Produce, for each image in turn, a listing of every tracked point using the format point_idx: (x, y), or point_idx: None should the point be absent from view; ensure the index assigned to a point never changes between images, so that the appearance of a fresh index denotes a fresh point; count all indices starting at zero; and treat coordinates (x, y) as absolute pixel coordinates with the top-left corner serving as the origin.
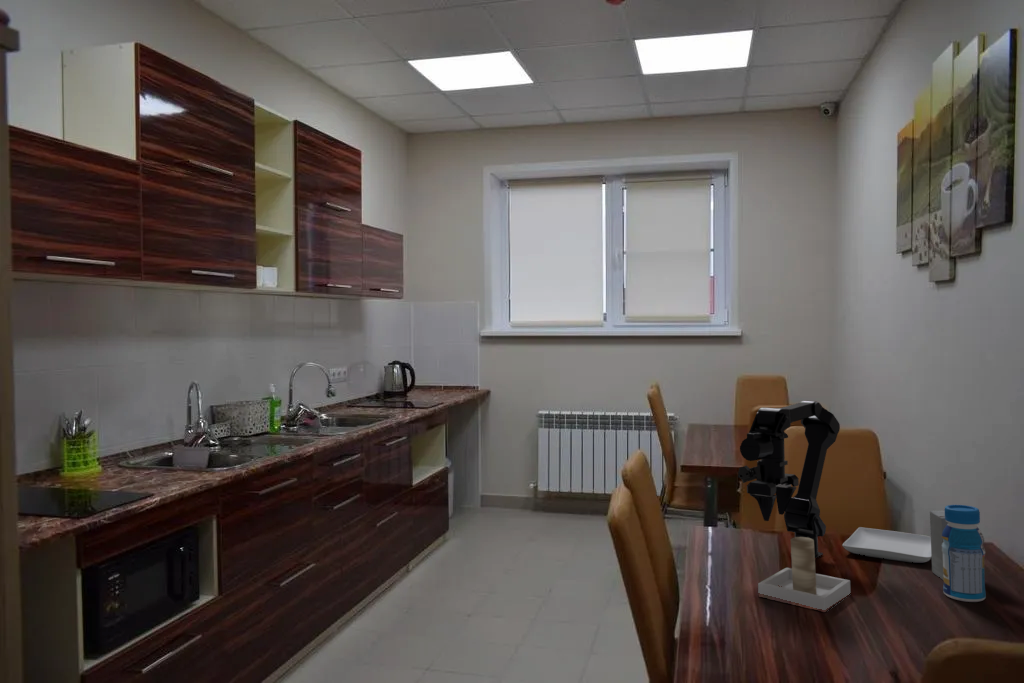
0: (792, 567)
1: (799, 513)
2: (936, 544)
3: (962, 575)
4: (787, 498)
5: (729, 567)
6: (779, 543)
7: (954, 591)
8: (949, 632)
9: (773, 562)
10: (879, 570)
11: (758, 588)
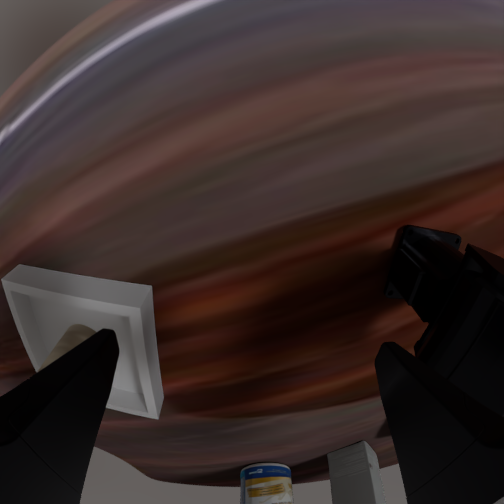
0: (42, 364)
1: (451, 376)
2: (350, 491)
3: (240, 500)
4: (406, 475)
5: (167, 83)
6: (499, 165)
7: (242, 477)
8: (125, 457)
9: (314, 194)
10: (351, 403)
11: (7, 274)
